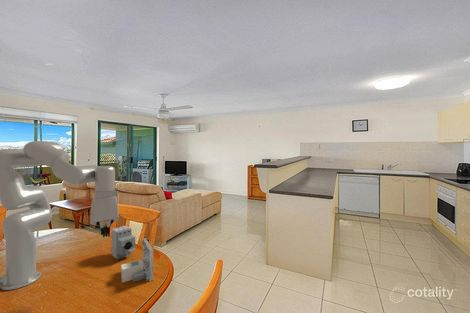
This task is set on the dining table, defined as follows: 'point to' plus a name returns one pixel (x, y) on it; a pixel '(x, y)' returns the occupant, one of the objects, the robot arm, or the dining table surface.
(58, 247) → the dining table surface
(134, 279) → the bracket
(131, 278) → the block
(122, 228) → the circuit breaker
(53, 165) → the robot arm
